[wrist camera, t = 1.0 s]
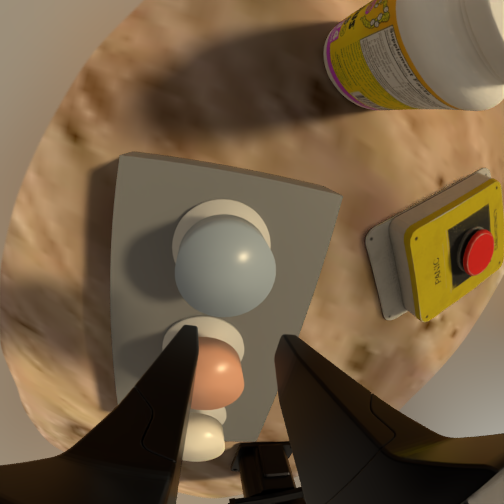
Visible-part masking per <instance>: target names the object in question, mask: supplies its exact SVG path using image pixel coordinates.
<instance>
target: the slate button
mask: <svg viewBox="0 0 504 504" xmlns="http://www.w3.org/2000/svg"><path fill="white" fill-rule="evenodd" d="M275 276H276V263H275V259H274V256H273V254H272V251H271V250H270V248H269V246H268V244H267V242H266V240H265V239H264V237H263V235H262V233H261V232H260V231H259V230H258V228H257V227H256V226H254V225H253V224H252V223H251V222H249V221H248V220H246V219H244V218H241V217H239V216H235V215H228V214H219V215H213V216H210V217H207V218H204V219H202V220H200V221H199V222H197V223H196V224H194V225H193V226H192V227H191V228H190V229H189V230H188V231H187V232H186V234H185V235H184V237H183V239H182V240H181V243H180V246H179V250H178V255H177V260H176V265H175V280H176V284H177V287H178V290H179V292H180V294H181V295H182V297H183V298H184V299H185V301H186V302H187V303H188V304H189V305H190V306H192V307H193V308H194V309H196V310H198V311H199V312H202V313H204V314H207V315H210V316H215V317H233V316H238V315H241V314H244V313H246V312H249V311H250V310H252V309H254V308H255V307H257V306H258V305H259V304H260V303H261V302H263V300H264V299H265V298H266V297H267V296H268V294H269V293H270V291H271V289H272V287H273V284H274V281H275Z"/></svg>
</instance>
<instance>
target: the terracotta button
mask: <svg viewBox="0 0 504 504" xmlns="http://www.w3.org/2000/svg"><path fill="white" fill-rule="evenodd" d="M198 339H199V355H198V361H197V368H196V375H195V382H194V389H193V396H192V403H191V409H196V410H215V409H219V408H223V407H225V406H228V405H229V404H231V403H233V402H234V401H236V400H237V399H238V398H239V396H240V395H241V394H242V392H243V389H244V379H243V373H242V368H241V362H240V358H239V355H238V353H237V351H236V350H235V349H234V348H233V347H232V346H231V345H229V344H228V343H226V342H224V341H222V340H219V339H216V338H211V337H198Z"/></svg>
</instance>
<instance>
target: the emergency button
mask: <svg viewBox="0 0 504 504" xmlns="http://www.w3.org/2000/svg"><path fill="white" fill-rule="evenodd" d="M365 244H366V248H367V251H368V255H369V259H370V263H371V266H372V270H373V274H374V278H375V282H376V286H377V290H378V294H379V299H380V303H381V307H382V312H383V316H384V318H385V319H386V320H393V319H396V318H397V317H399V316H401V315H402V314H404V313H406V312H407V311H409V312H410V313H412V314H413V315H414V316H416V317H417V318H418V319H419V320H421V321H422V322H427V321H429V320H431V319H432V318H434V317H435V316H437V315H438V314H440V313H441V312H443V311H444V310H445V309H447V308H448V307H450V306H451V305H453V304H454V303H455V302H457V301H458V300H460V299H461V298H462V297H464V296H465V295H466V294H468V293H469V292H470V291H472V290H473V289H474V288H476V287H477V286H478V285H479V284H481V283H482V282H483V281H484V280H486V279H487V278H488V277H489V276H491V275H492V274H493V273H494V272H496V271H497V270H498V269H499V268H500V267H501V265H502V263H503V259H504V214H503V197H502V187H501V184H500V182H499V181H497V180H495V179H493V178H491V174H490V171H489V170H488V169H487V168H481V169H479V170H478V171H476V172H474V173H472V174H470V175H469V176H467V177H465V178H463V179H462V180H460V181H458V182H456V183H454V184H453V185H451V186H449V187H447V188H445V189H444V190H442V191H440V192H438V193H436V194H434V195H433V196H431V197H429V198H427V199H425V200H423V201H422V202H420V203H418V204H416V205H414V206H412V207H410V208H409V209H407V210H405V211H403V212H401V213H399V214H397V215H395V216H393V217H392V218H390V219H388V220H386V221H384V222H382V223H380V224H378V225H376V226H374V227H373V228H372V229H371V230H370V231H369V232H368V234H367V236H366V238H365Z"/></svg>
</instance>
